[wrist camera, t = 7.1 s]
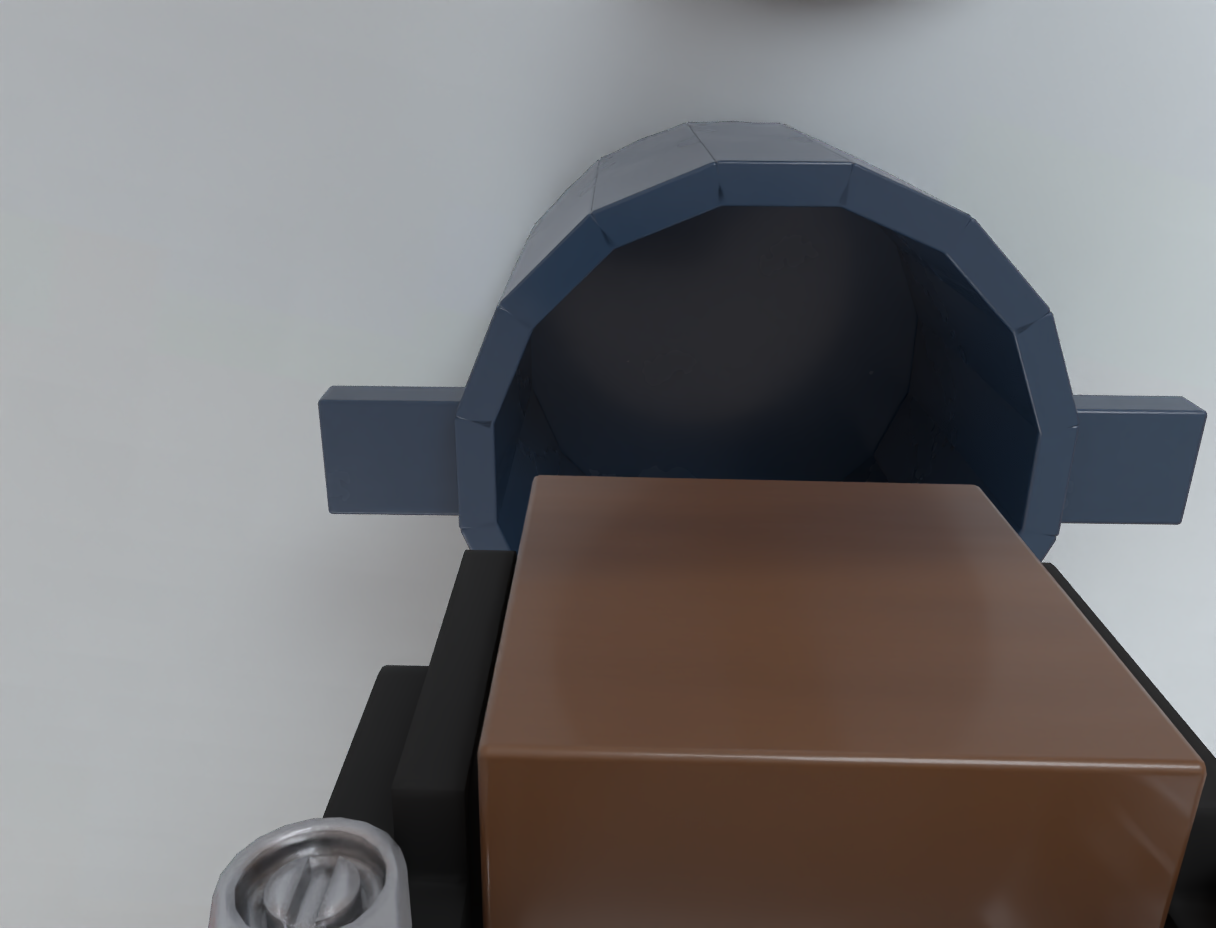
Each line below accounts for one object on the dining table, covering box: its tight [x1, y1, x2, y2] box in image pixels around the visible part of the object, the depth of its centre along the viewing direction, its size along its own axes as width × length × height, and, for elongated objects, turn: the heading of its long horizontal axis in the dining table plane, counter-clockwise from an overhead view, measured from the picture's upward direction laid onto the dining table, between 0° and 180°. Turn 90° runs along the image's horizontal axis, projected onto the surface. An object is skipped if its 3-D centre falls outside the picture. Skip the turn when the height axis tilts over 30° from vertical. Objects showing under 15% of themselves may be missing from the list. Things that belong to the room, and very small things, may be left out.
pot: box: [318, 121, 1207, 562], centre depth 24 cm, size 12×17×9 cm
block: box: [477, 475, 1207, 928], centre depth 9 cm, size 5×5×5 cm
